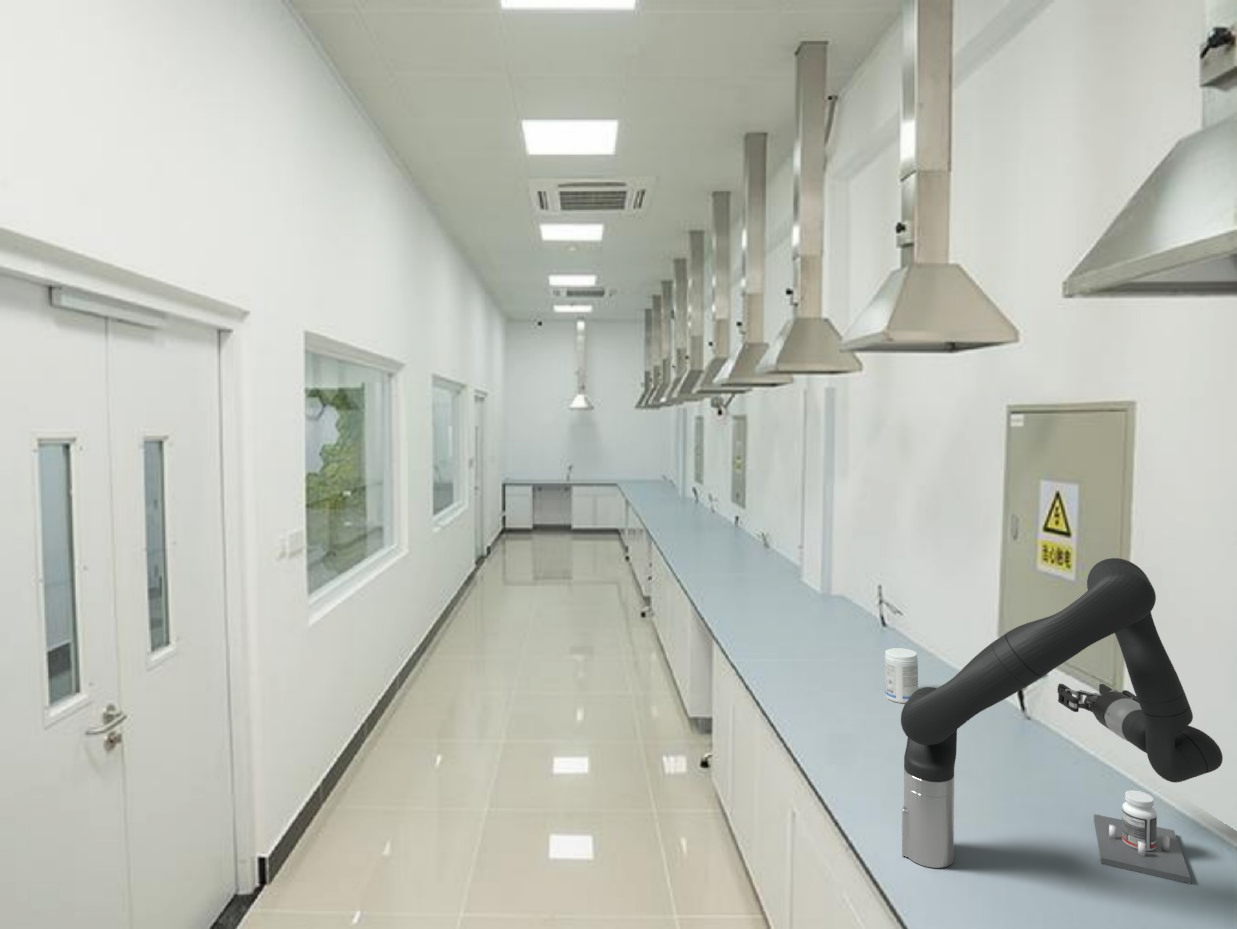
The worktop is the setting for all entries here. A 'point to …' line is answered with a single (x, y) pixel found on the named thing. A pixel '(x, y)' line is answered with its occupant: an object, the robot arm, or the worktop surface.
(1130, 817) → the pill bottle
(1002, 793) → the worktop surface
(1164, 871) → the grey pegged board
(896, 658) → the supplement tub
